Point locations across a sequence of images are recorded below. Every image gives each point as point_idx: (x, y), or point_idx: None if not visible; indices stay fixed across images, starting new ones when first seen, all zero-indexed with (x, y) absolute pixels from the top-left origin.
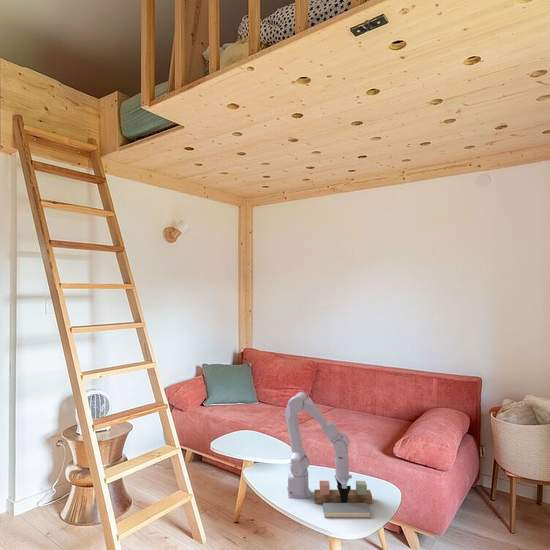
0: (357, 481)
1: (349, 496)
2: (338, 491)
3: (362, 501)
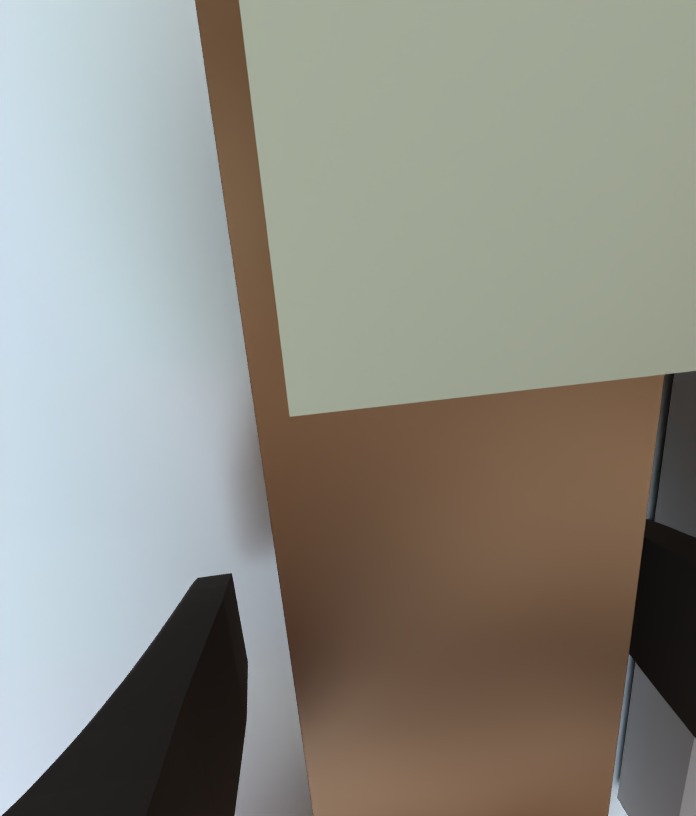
0: (467, 216)
1: (627, 502)
2: (419, 780)
3: None
